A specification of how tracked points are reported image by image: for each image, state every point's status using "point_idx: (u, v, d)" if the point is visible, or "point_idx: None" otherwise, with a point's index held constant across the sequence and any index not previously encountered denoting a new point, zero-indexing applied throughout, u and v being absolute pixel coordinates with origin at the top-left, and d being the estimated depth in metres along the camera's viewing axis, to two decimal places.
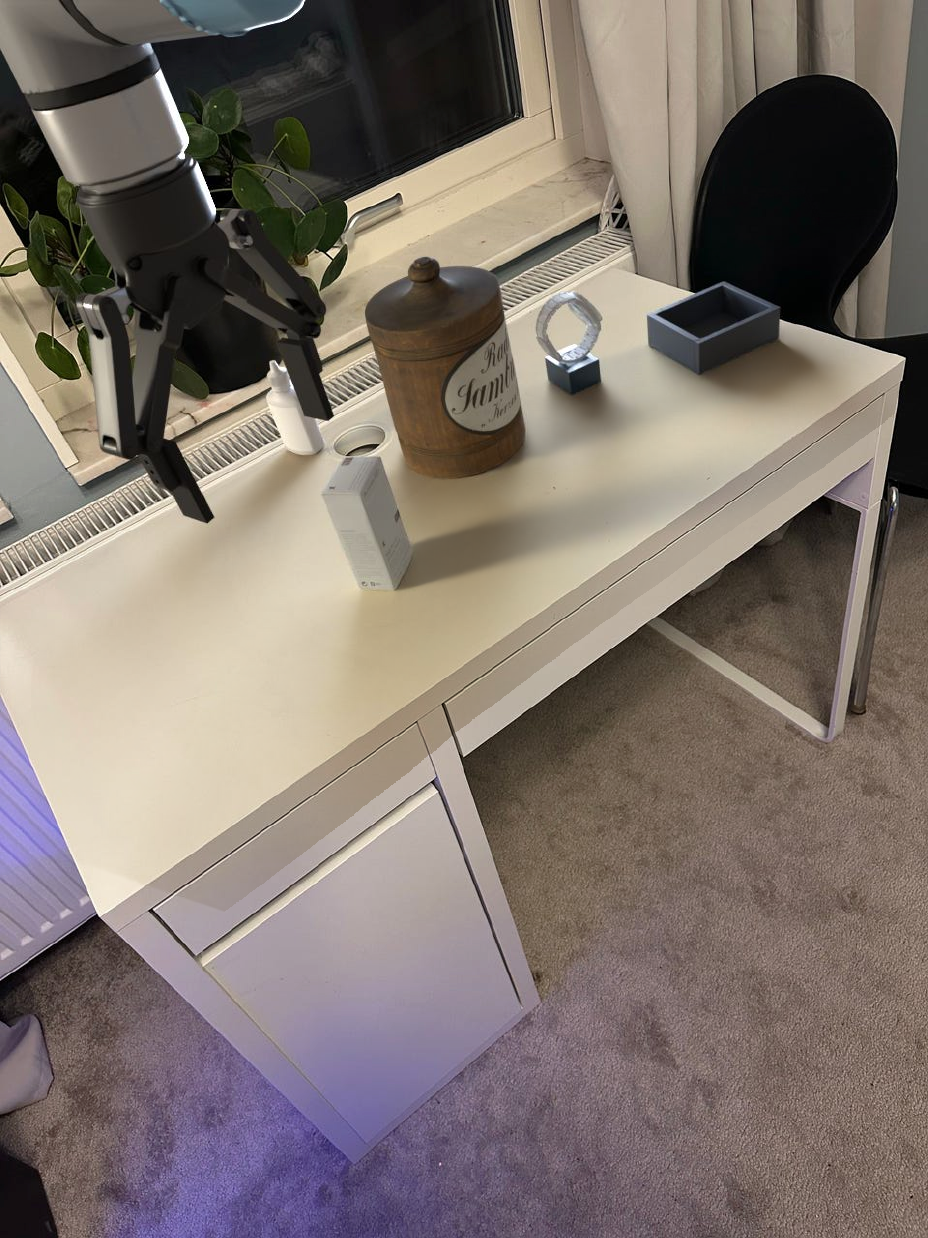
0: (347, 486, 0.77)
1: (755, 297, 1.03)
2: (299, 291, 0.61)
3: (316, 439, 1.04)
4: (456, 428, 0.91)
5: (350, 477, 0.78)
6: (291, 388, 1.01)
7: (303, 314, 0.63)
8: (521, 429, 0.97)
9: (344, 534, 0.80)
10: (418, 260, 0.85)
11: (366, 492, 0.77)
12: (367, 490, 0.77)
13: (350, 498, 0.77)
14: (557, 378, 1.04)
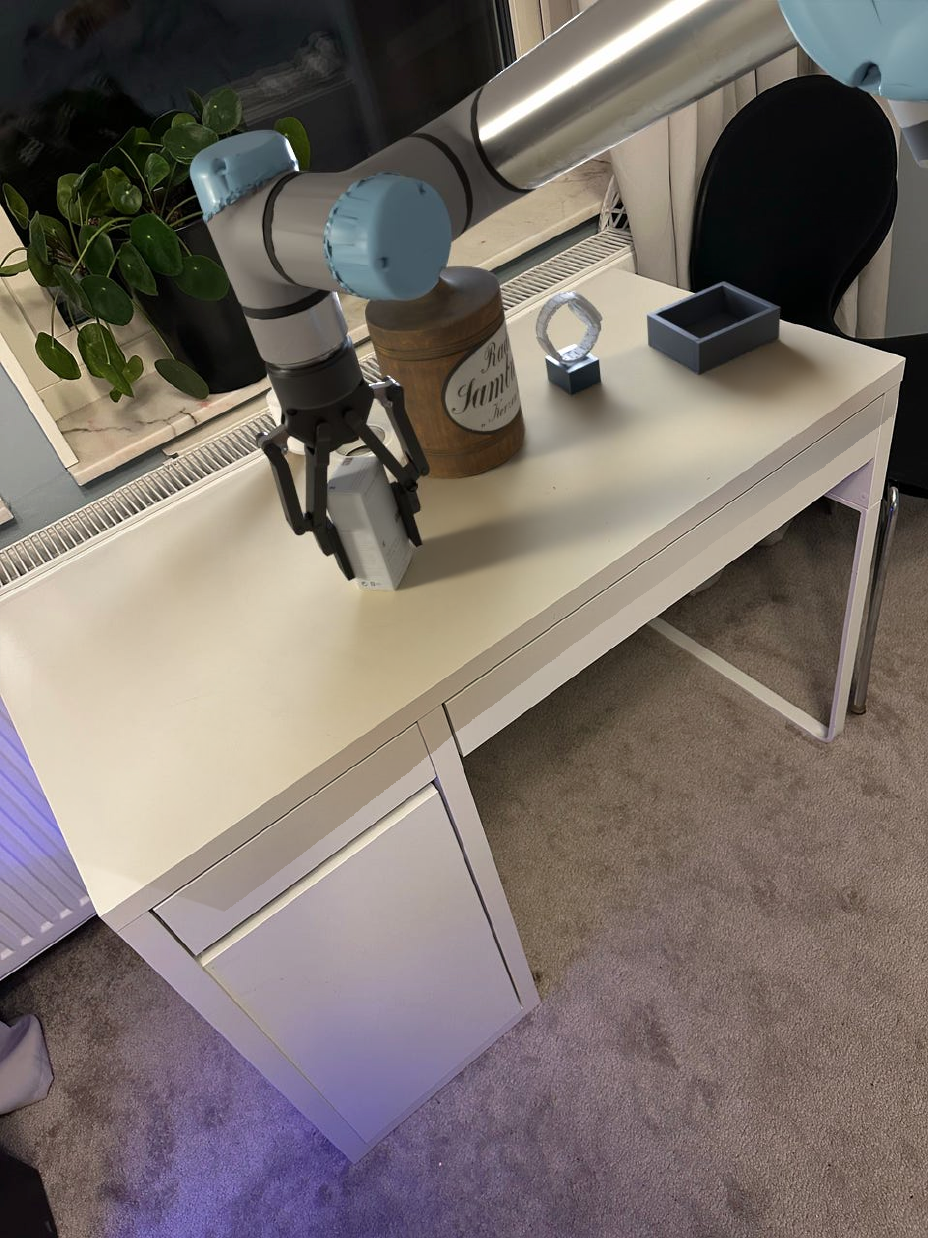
0: (348, 486, 0.77)
1: (755, 297, 1.03)
2: (412, 452, 0.78)
3: None
4: (456, 428, 0.91)
5: (350, 477, 0.78)
6: None
7: (409, 472, 0.80)
8: (521, 429, 0.97)
9: (344, 534, 0.80)
10: None
11: (367, 492, 0.77)
12: (367, 490, 0.77)
13: (350, 498, 0.77)
14: (557, 378, 1.04)
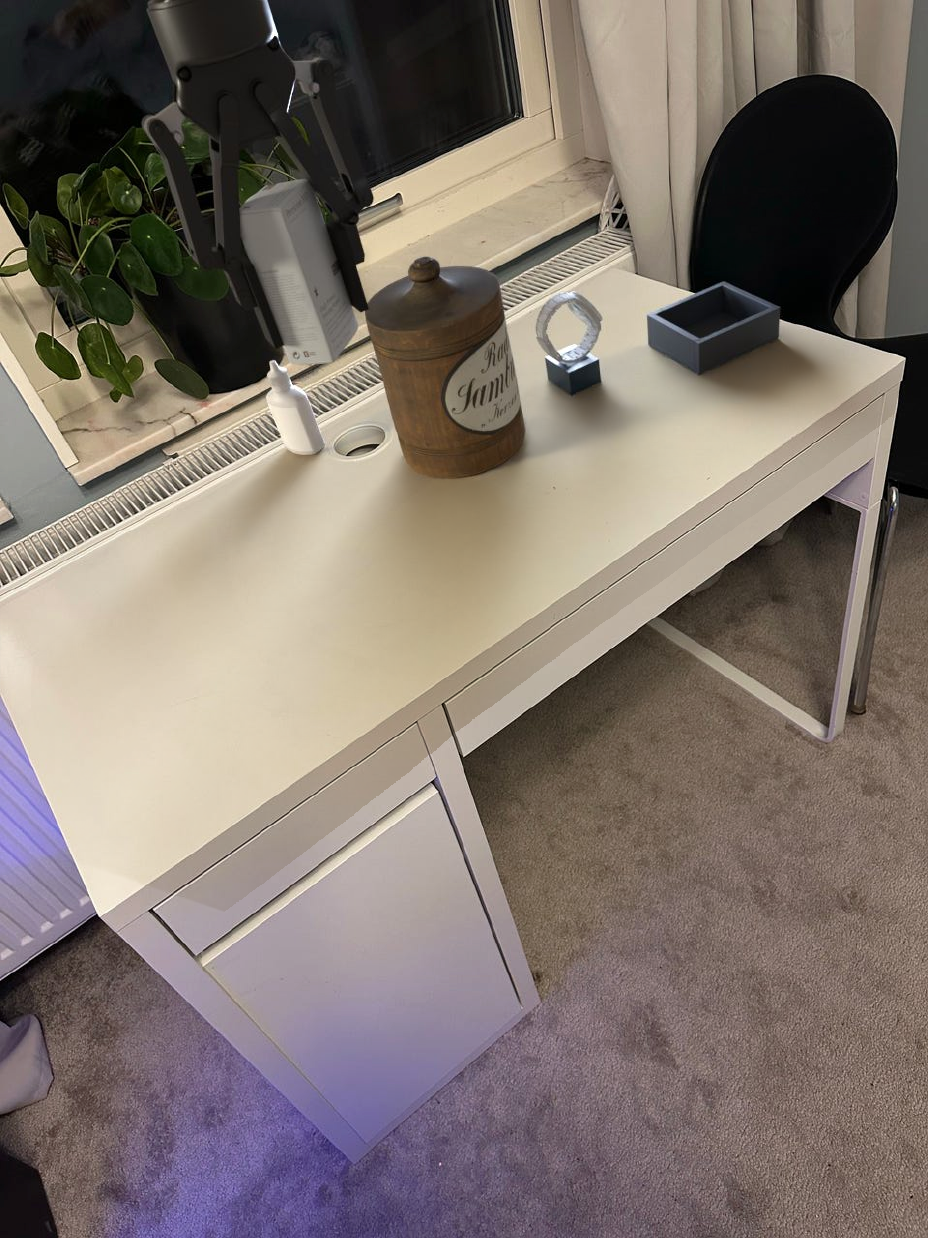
0: (266, 203, 0.61)
1: (755, 297, 1.03)
2: (350, 167, 0.62)
3: (316, 439, 1.04)
4: (456, 428, 0.91)
5: (270, 196, 0.62)
6: (291, 388, 1.01)
7: (348, 200, 0.64)
8: (521, 429, 0.97)
9: (266, 278, 0.64)
10: (418, 260, 0.85)
11: (290, 211, 0.61)
12: (291, 209, 0.61)
13: (269, 216, 0.60)
14: (557, 378, 1.04)
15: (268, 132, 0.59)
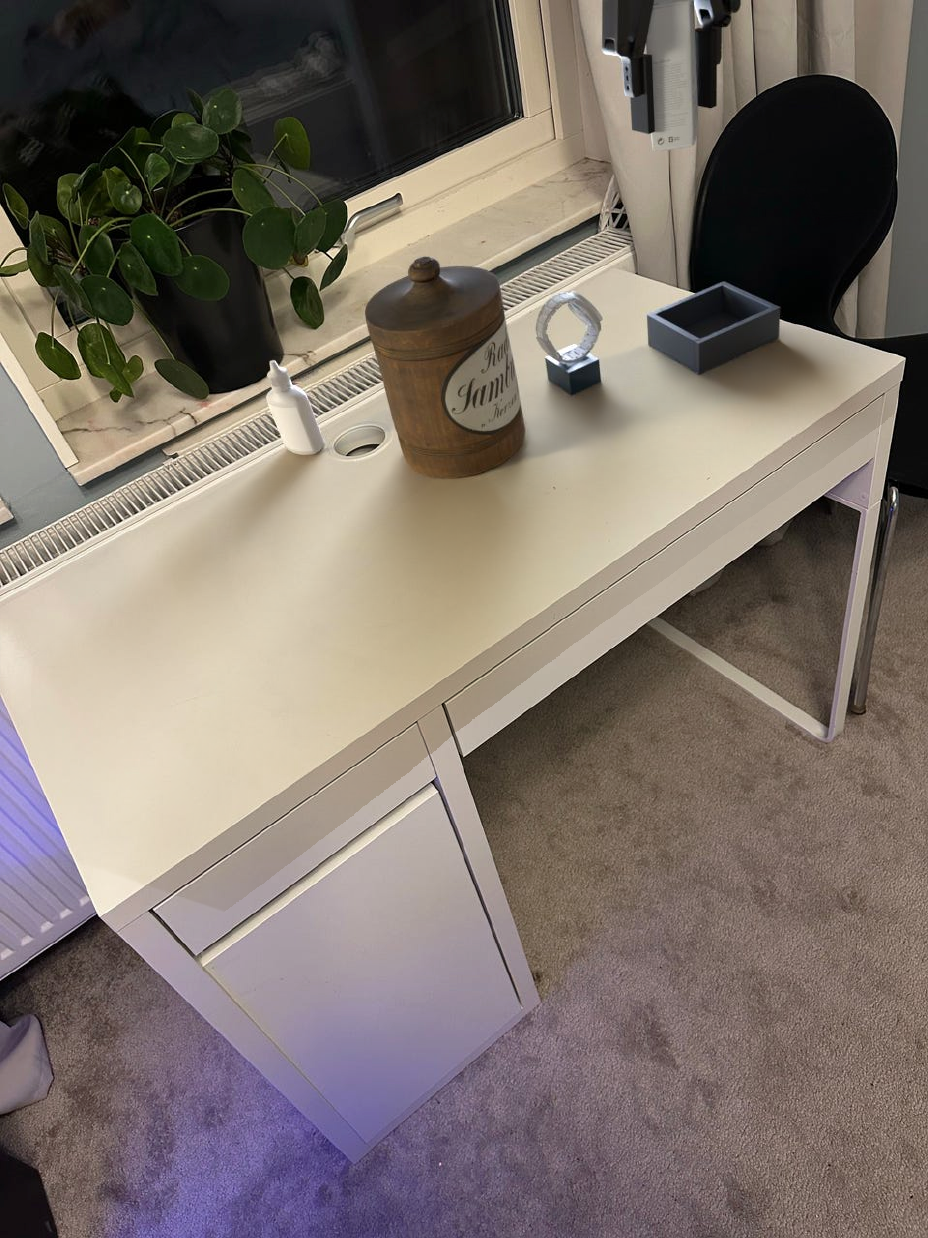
0: (672, 0, 0.76)
1: (755, 297, 1.03)
2: None
3: (316, 439, 1.04)
4: (456, 428, 0.91)
5: None
6: (291, 388, 1.01)
7: None
8: (521, 429, 0.97)
9: (657, 67, 0.79)
10: (418, 260, 0.85)
11: (691, 6, 0.76)
12: (691, 5, 0.76)
13: (676, 9, 0.76)
14: (557, 378, 1.04)
15: None
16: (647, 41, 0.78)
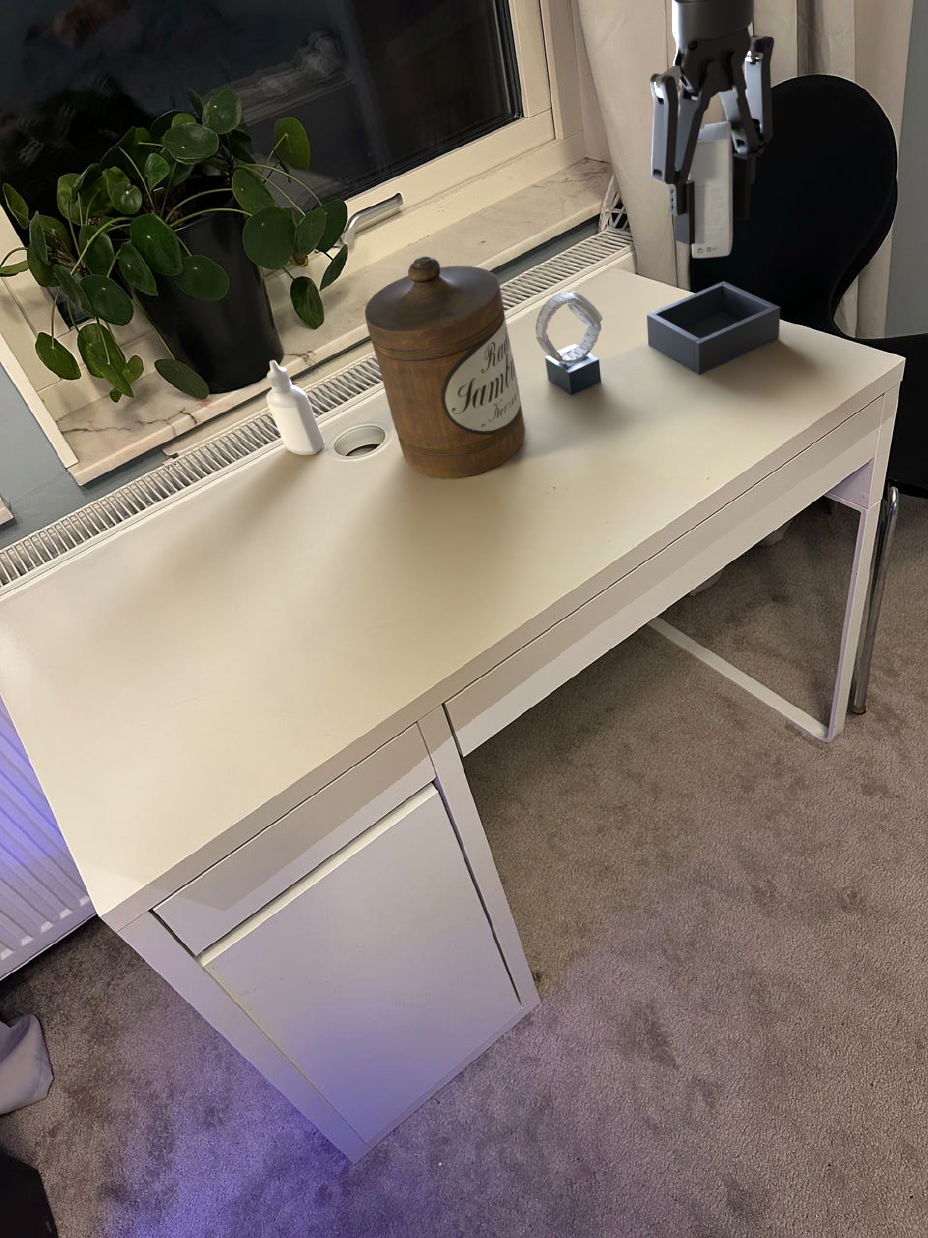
0: (713, 136, 0.87)
1: (755, 297, 1.03)
2: (764, 113, 0.89)
3: (316, 439, 1.04)
4: (456, 428, 0.91)
5: (712, 132, 0.88)
6: (291, 388, 1.01)
7: None
8: (521, 429, 0.97)
9: (698, 191, 0.91)
10: (418, 260, 0.85)
11: None
12: None
13: (717, 145, 0.87)
14: (557, 378, 1.04)
15: (726, 86, 0.85)
16: (690, 170, 0.89)
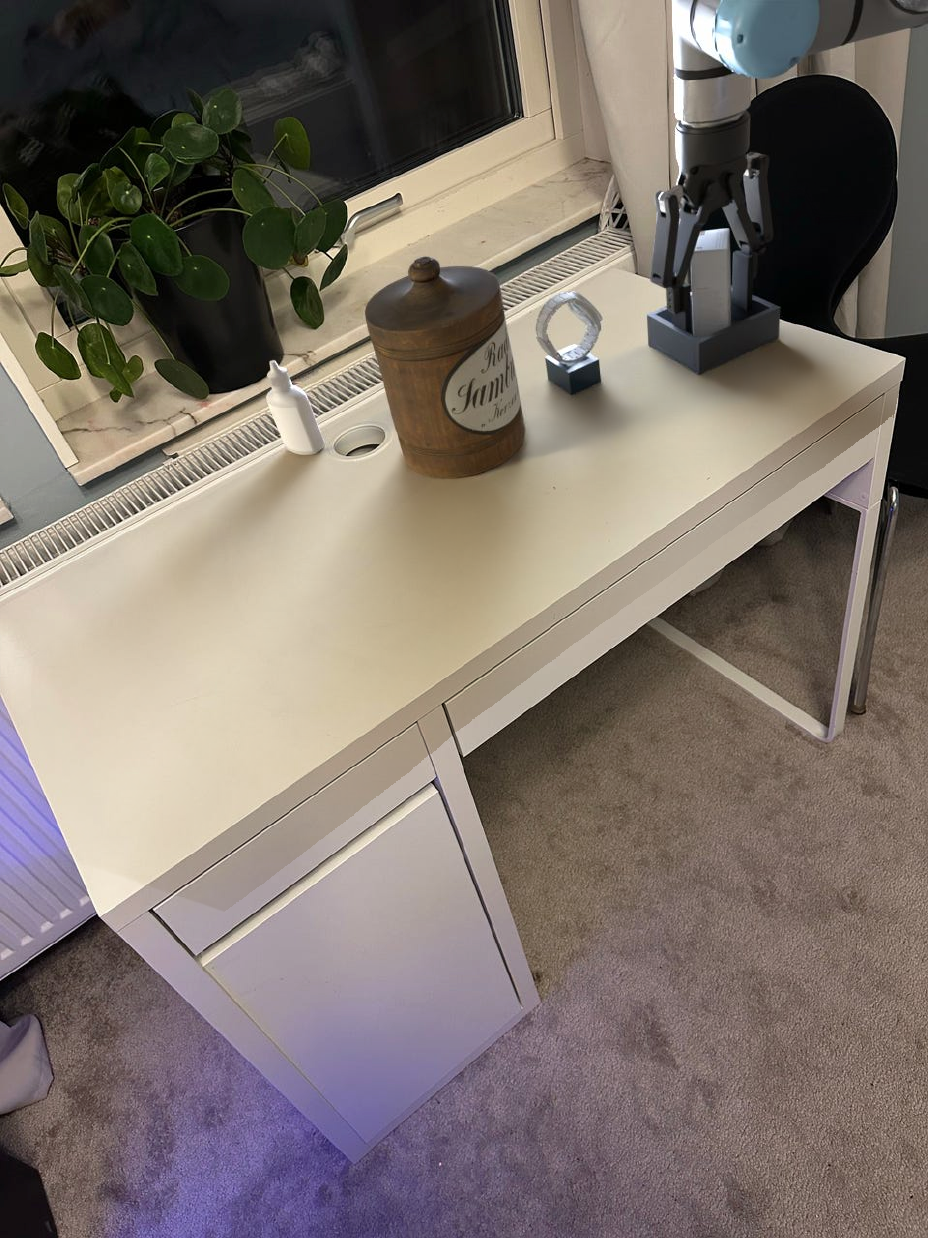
0: (713, 245, 0.95)
1: (755, 297, 1.03)
2: (764, 218, 0.97)
3: (316, 439, 1.04)
4: (456, 428, 0.91)
5: (711, 240, 0.96)
6: (291, 388, 1.01)
7: None
8: (521, 429, 0.97)
9: (699, 292, 0.98)
10: (418, 260, 0.85)
11: None
12: None
13: (717, 254, 0.95)
14: (557, 378, 1.04)
15: (725, 202, 0.93)
16: (692, 274, 0.97)
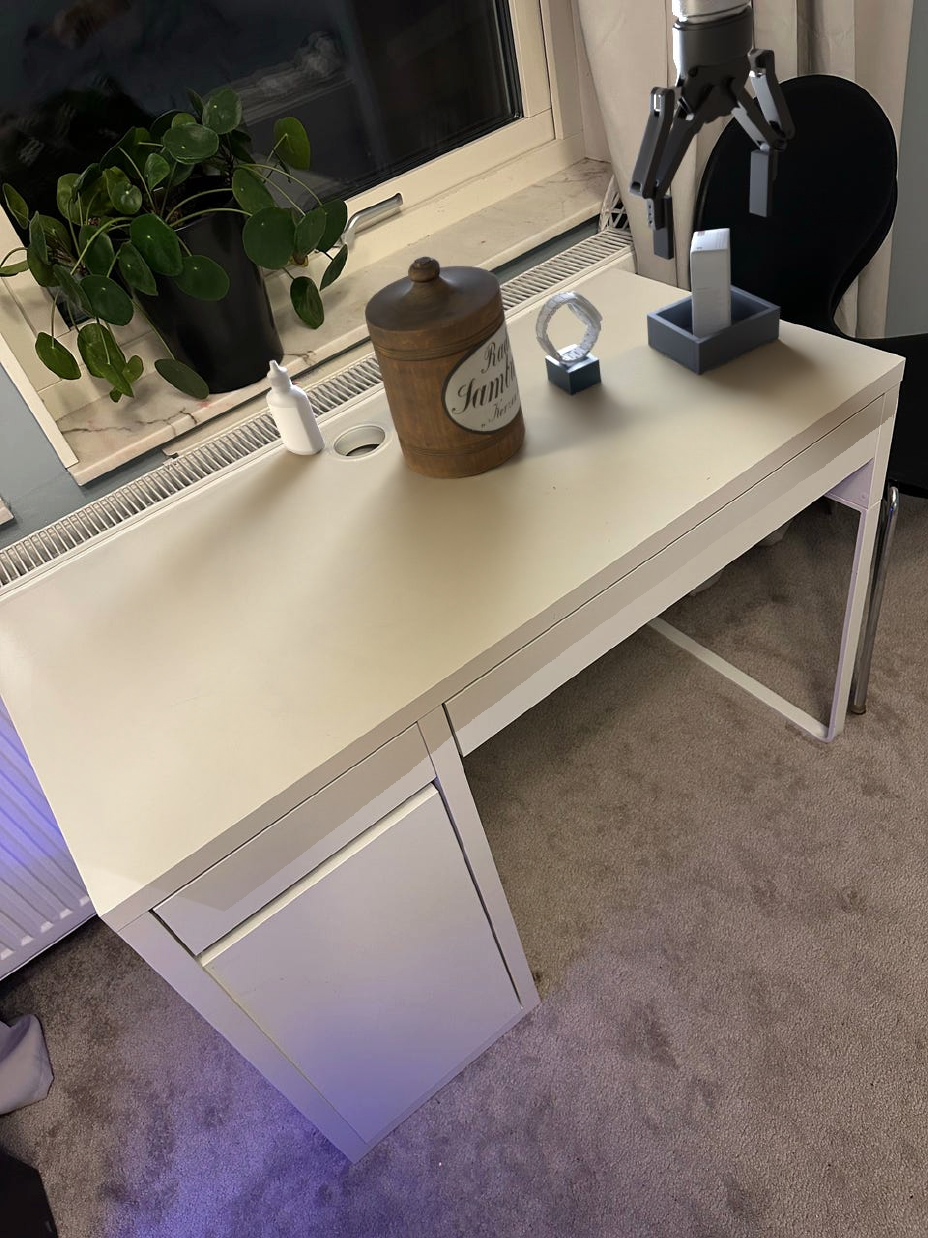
0: (713, 245, 0.95)
1: (755, 297, 1.03)
2: (781, 115, 0.90)
3: (316, 439, 1.04)
4: (456, 428, 0.91)
5: (711, 240, 0.96)
6: (291, 388, 1.01)
7: (777, 133, 0.92)
8: (521, 429, 0.97)
9: (699, 292, 0.98)
10: (418, 260, 0.85)
11: None
12: None
13: (716, 254, 0.95)
14: (557, 378, 1.04)
15: (726, 111, 0.87)
16: (692, 274, 0.97)
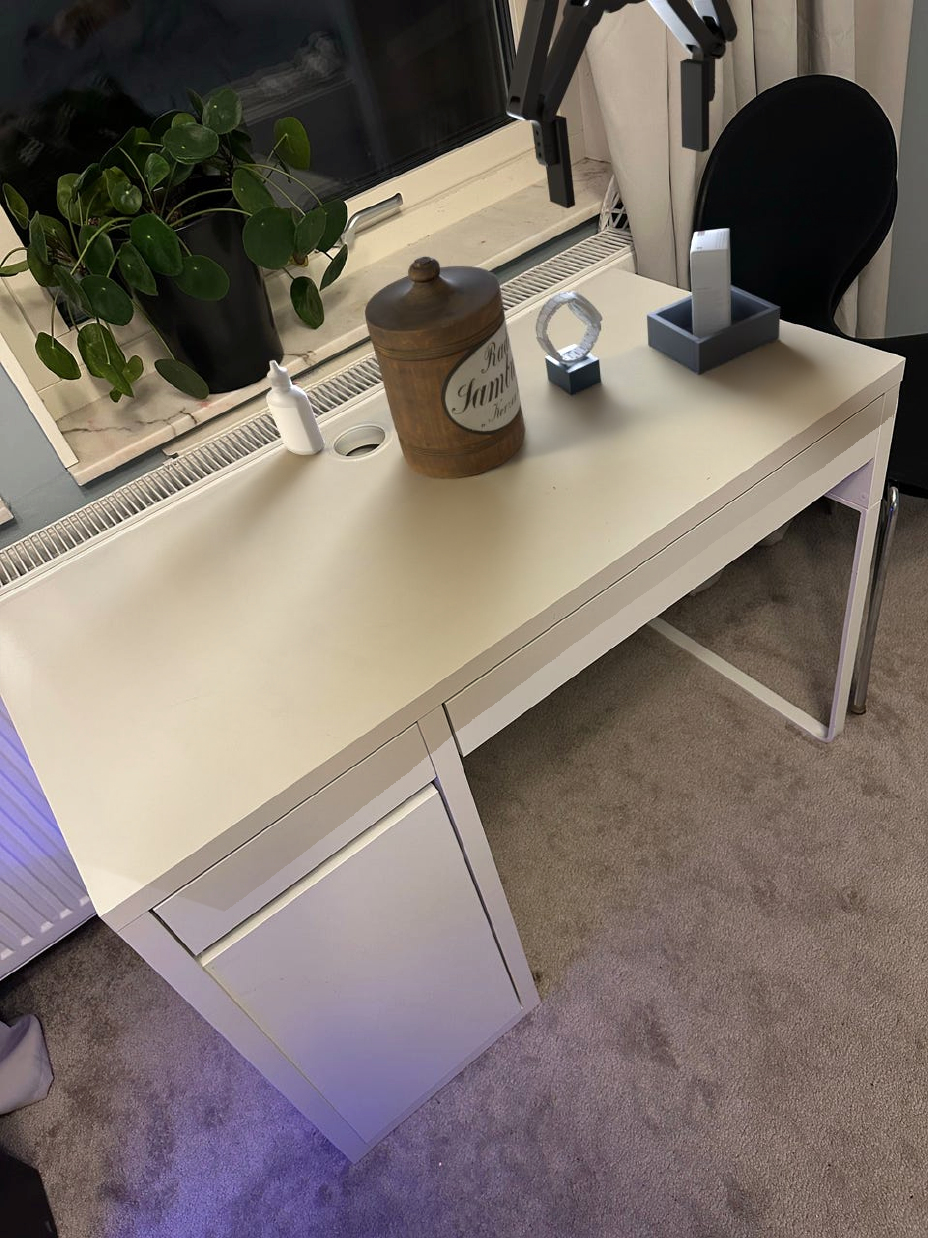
0: (713, 245, 0.95)
1: (755, 297, 1.03)
2: (717, 6, 0.65)
3: (316, 439, 1.04)
4: (456, 428, 0.91)
5: (711, 240, 0.96)
6: (291, 388, 1.01)
7: (714, 34, 0.67)
8: (521, 429, 0.97)
9: (699, 292, 0.98)
10: (418, 260, 0.85)
11: None
12: None
13: (716, 254, 0.95)
14: (557, 378, 1.04)
15: None
16: (692, 274, 0.97)
